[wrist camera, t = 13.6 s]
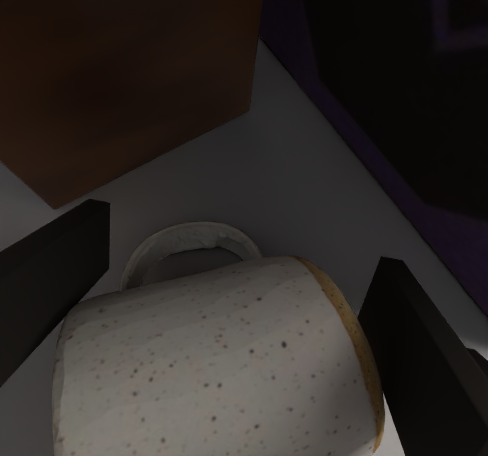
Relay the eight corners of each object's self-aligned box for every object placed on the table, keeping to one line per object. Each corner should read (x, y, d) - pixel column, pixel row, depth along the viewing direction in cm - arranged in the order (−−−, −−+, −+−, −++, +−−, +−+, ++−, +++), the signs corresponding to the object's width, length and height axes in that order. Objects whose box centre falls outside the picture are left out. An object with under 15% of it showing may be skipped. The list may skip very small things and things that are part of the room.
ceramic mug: (343, 432, 14) (468, 501, 7) (149, 518, 13) (58, 715, 5) (257, 213, 18) (281, 111, 11) (98, 260, 16) (2, 177, 9)
